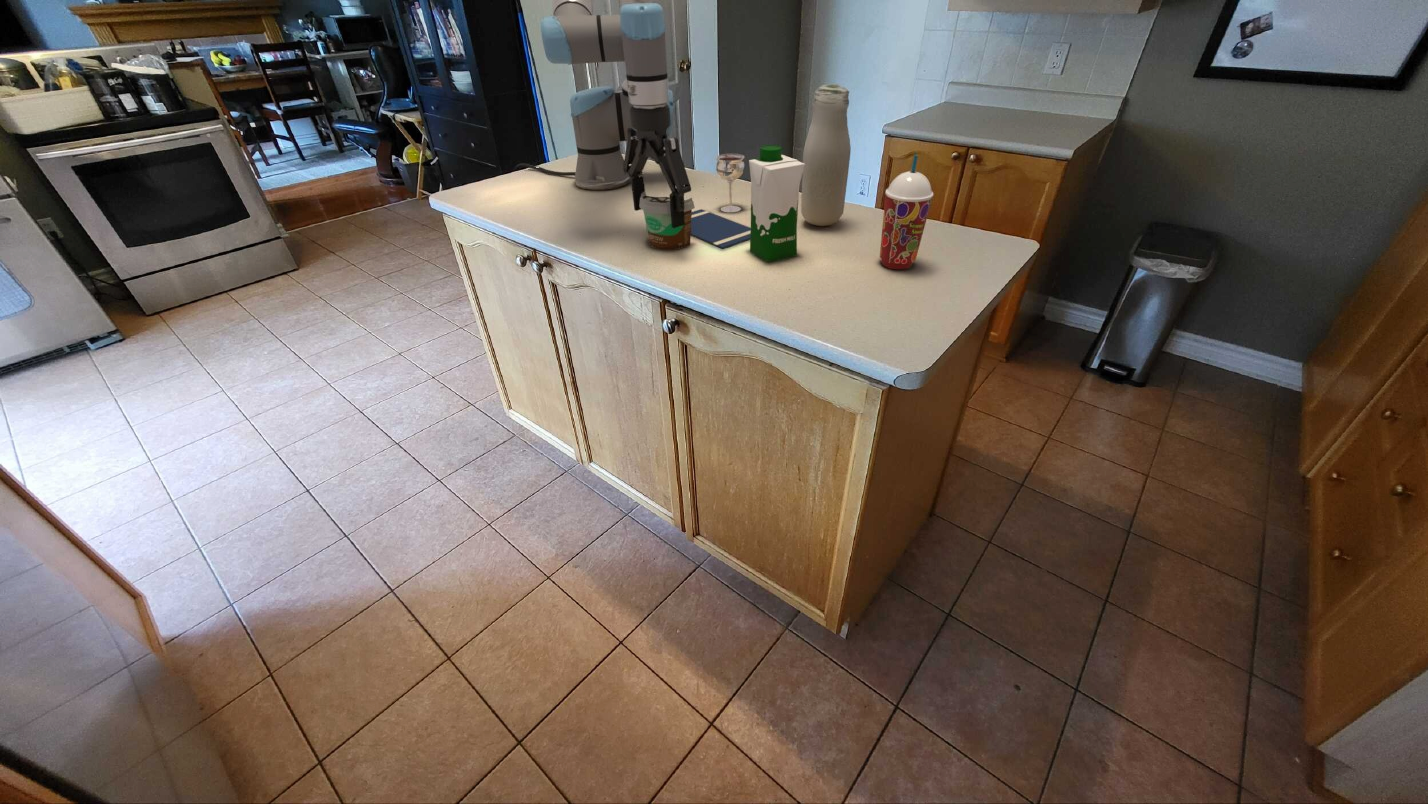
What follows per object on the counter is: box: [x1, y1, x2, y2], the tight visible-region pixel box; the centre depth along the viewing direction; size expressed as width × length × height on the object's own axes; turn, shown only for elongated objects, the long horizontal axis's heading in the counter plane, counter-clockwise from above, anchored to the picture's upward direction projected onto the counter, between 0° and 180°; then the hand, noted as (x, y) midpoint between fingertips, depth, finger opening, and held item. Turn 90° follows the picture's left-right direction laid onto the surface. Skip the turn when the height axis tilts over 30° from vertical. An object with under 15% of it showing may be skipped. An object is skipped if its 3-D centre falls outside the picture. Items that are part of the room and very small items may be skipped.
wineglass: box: [715, 153, 746, 213], centre depth 136 cm, size 7×7×12 cm
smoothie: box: [879, 154, 934, 270], centre depth 105 cm, size 8×8×20 cm
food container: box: [639, 190, 695, 251], centre depth 118 cm, size 12×6×10 cm, turn 63°
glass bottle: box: [800, 84, 852, 227], centre depth 121 cm, size 10×10×28 cm
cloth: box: [691, 208, 751, 250], centre depth 129 cm, size 22×12×1 cm, turn 40°
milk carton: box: [748, 144, 805, 264], centre depth 111 cm, size 9×9×20 cm
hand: (658, 217), depth 119 cm, fingers open, 13 cm apart
